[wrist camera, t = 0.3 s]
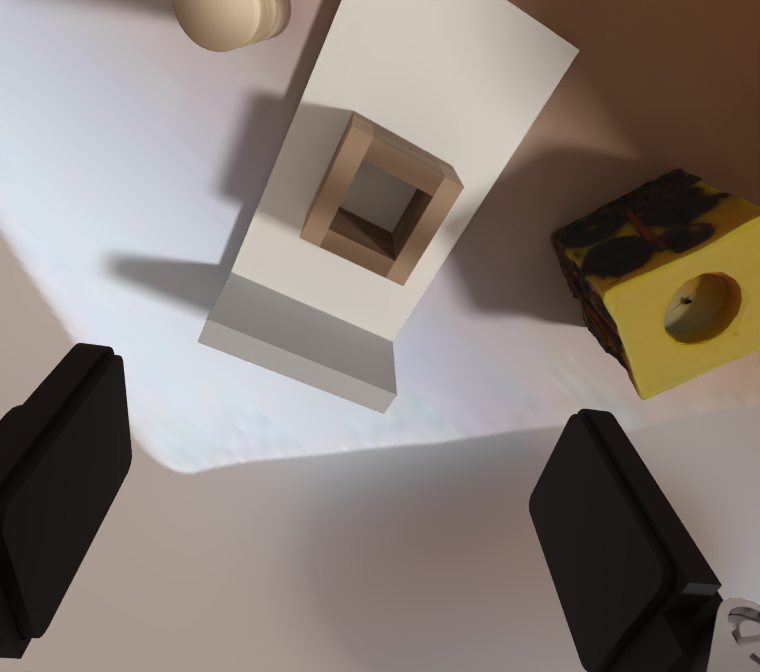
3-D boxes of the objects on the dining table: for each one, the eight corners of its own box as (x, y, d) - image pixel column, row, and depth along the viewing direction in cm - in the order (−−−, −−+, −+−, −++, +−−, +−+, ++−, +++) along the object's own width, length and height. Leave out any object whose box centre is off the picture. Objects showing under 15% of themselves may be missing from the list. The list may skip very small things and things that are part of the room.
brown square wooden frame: (353, 110, 33) (352, 125, 29) (452, 165, 35) (464, 187, 31) (307, 211, 36) (299, 237, 32) (399, 255, 38) (403, 286, 34)
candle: (586, 329, 44) (639, 405, 35) (544, 233, 39) (594, 295, 30) (708, 273, 41) (797, 341, 33) (679, 162, 36) (775, 209, 28)
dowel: (247, -38, 29) (185, -63, 19) (299, -7, 30) (265, -14, 20) (229, 20, 31) (162, 25, 21) (278, 48, 32) (238, 67, 22)
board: (377, -86, 28) (381, -115, 22) (574, 49, 32) (629, 60, 25) (225, 286, 40) (197, 342, 34) (380, 352, 44) (383, 413, 38)
